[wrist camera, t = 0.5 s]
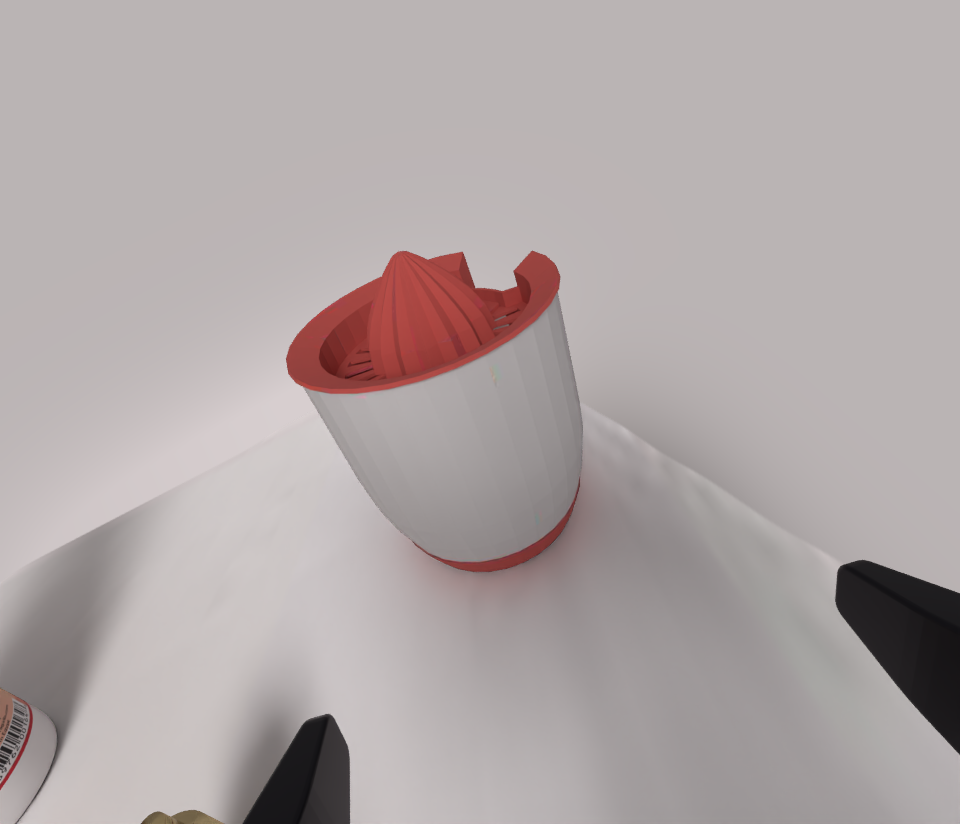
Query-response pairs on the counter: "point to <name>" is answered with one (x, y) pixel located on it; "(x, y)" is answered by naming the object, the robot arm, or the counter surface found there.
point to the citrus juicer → (452, 405)
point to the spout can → (181, 818)
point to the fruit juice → (22, 754)
